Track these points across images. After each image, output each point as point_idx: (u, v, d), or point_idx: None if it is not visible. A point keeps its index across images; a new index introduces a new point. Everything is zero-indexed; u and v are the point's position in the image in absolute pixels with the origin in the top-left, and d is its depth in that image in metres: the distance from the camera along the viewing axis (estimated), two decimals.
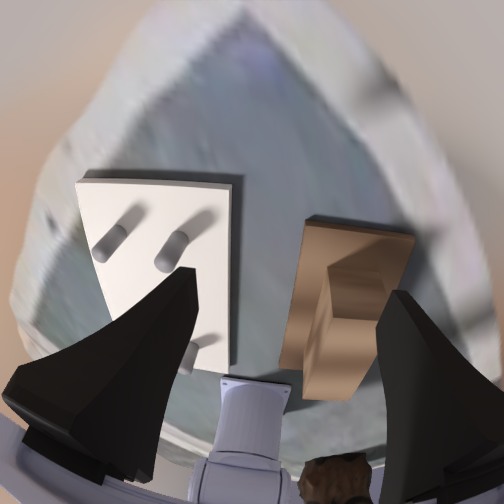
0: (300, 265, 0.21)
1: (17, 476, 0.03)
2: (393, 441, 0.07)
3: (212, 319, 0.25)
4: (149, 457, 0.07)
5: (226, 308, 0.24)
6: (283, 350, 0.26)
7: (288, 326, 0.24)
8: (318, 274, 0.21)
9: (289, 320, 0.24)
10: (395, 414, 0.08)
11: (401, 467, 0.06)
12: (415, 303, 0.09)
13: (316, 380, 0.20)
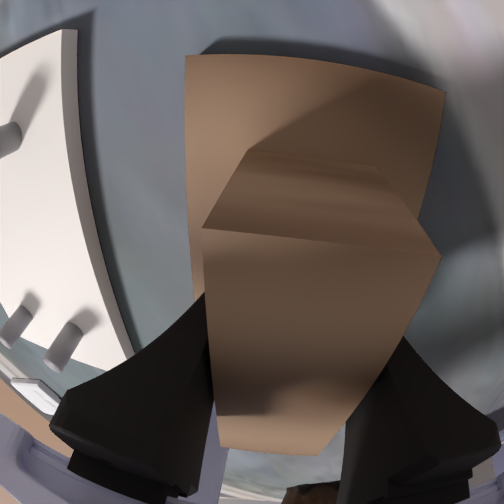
0: (188, 152, 0.09)
1: (17, 476, 0.03)
2: (349, 444, 0.07)
3: (78, 281, 0.13)
4: (197, 469, 0.07)
5: (88, 259, 0.12)
6: None
7: None
8: (231, 172, 0.09)
9: (195, 288, 0.12)
10: (352, 415, 0.08)
11: (354, 472, 0.06)
12: None
13: (231, 421, 0.08)
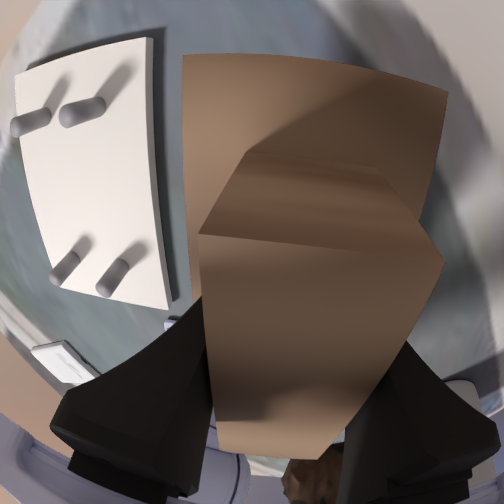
0: (186, 153, 0.09)
1: (17, 476, 0.03)
2: (349, 444, 0.07)
3: (136, 217, 0.19)
4: (198, 470, 0.07)
5: (150, 196, 0.18)
6: None
7: None
8: (230, 173, 0.09)
9: (194, 291, 0.12)
10: None
11: (353, 472, 0.06)
12: None
13: (230, 425, 0.08)
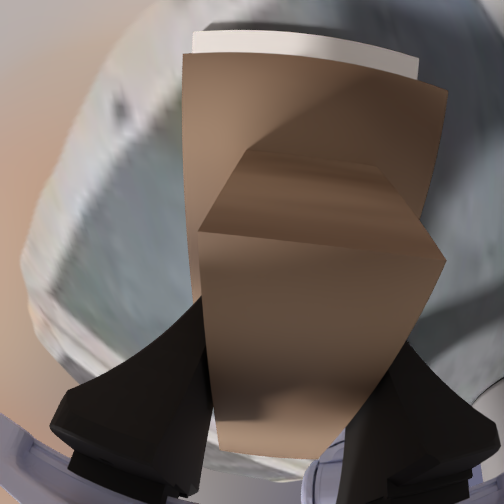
0: (186, 152, 0.09)
1: (17, 476, 0.03)
2: (349, 444, 0.07)
3: None
4: (198, 470, 0.07)
5: None
6: None
7: None
8: (230, 172, 0.09)
9: (194, 290, 0.12)
10: None
11: (353, 472, 0.06)
12: None
13: (230, 425, 0.08)
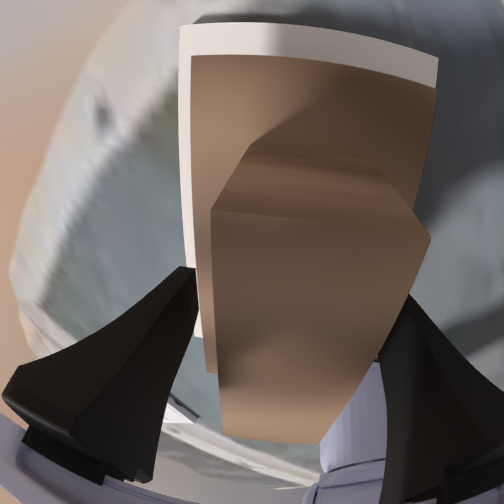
0: (193, 147, 0.09)
1: (17, 476, 0.03)
2: (393, 441, 0.07)
3: None
4: (148, 457, 0.07)
5: None
6: (205, 341, 0.15)
7: (200, 292, 0.13)
8: (234, 166, 0.10)
9: (199, 279, 0.13)
10: (395, 414, 0.08)
11: (401, 467, 0.06)
12: (415, 303, 0.09)
13: (234, 406, 0.09)
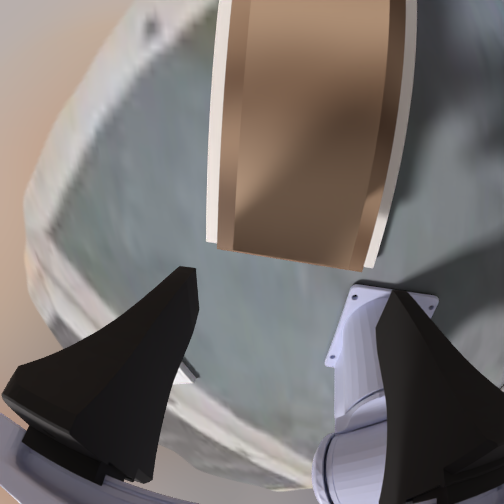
0: (233, 6, 0.10)
1: (17, 476, 0.03)
2: (393, 441, 0.07)
3: None
4: (148, 457, 0.07)
5: (405, 126, 0.15)
6: (220, 196, 0.15)
7: (223, 130, 0.13)
8: None
9: (224, 115, 0.13)
10: (395, 414, 0.08)
11: (401, 467, 0.06)
12: (415, 303, 0.09)
13: (253, 161, 0.09)
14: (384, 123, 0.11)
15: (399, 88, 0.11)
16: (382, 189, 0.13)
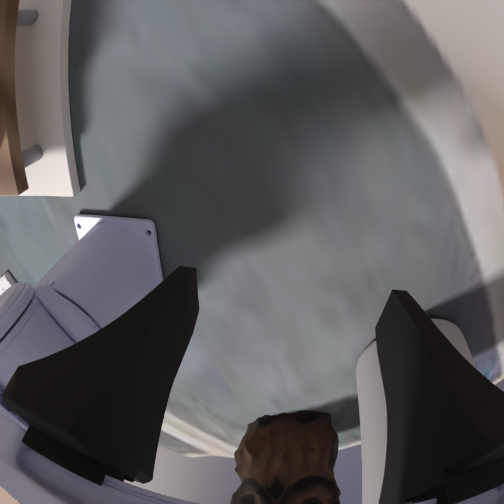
0: None
1: (17, 476, 0.03)
2: (393, 441, 0.07)
3: (48, 97, 0.16)
4: (149, 457, 0.07)
5: (58, 75, 0.15)
6: None
7: None
8: None
9: None
10: (395, 414, 0.08)
11: (401, 467, 0.06)
12: (415, 303, 0.09)
13: None
14: None
15: (4, 64, 0.11)
16: (6, 133, 0.13)
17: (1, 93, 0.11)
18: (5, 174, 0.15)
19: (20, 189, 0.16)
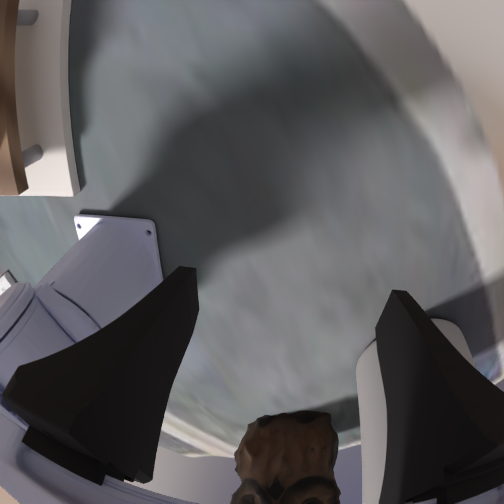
0: None
1: (17, 476, 0.03)
2: (393, 441, 0.07)
3: (48, 97, 0.16)
4: (149, 457, 0.07)
5: (58, 75, 0.15)
6: None
7: None
8: None
9: None
10: (395, 414, 0.08)
11: (401, 467, 0.06)
12: (415, 303, 0.09)
13: None
14: None
15: (4, 64, 0.11)
16: (6, 133, 0.13)
17: (1, 93, 0.11)
18: (5, 174, 0.15)
19: (20, 189, 0.16)
